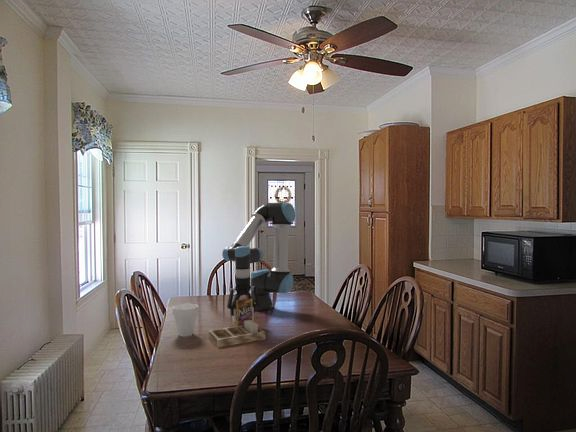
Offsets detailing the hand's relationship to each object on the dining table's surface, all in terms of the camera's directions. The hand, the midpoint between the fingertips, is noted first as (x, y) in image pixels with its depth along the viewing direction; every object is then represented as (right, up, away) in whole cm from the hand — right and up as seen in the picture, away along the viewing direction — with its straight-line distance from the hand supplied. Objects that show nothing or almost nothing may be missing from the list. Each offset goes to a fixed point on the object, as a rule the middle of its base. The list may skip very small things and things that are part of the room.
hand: (243, 320), depth 198 cm
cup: (-27, -5, -8) cm, 29 cm away
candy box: (0, -4, 0) cm, 4 cm away
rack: (-1, -4, -17) cm, 18 cm away
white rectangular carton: (+5, -3, -14) cm, 15 cm away
